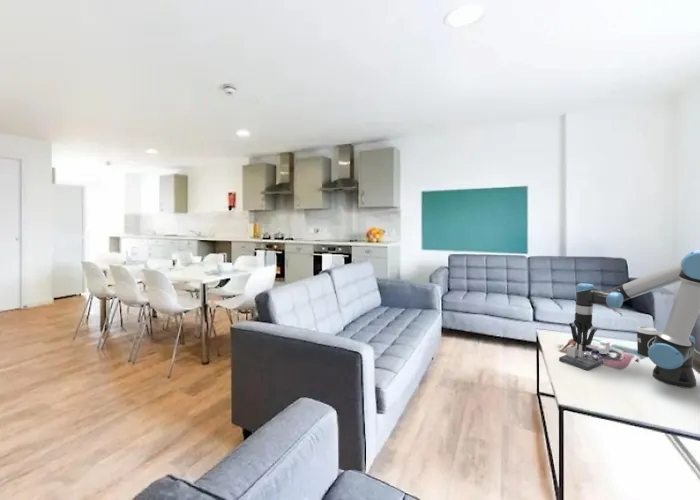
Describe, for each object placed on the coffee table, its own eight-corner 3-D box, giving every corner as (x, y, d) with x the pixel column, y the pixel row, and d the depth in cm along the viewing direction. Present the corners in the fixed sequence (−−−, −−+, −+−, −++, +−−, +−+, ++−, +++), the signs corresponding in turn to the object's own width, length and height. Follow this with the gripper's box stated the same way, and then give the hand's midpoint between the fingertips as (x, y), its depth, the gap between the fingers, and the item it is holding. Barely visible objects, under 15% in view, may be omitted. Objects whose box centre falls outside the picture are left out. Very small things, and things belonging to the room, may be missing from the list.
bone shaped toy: (610, 354, 197) (611, 340, 197) (604, 356, 192) (605, 342, 192) (580, 346, 209) (582, 333, 209) (574, 348, 204) (575, 334, 204)
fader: (578, 355, 188) (578, 346, 188) (574, 357, 186) (575, 347, 186) (570, 353, 192) (571, 344, 191) (566, 355, 190) (567, 345, 189)
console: (603, 363, 183) (603, 357, 183) (587, 370, 175) (588, 364, 175) (574, 354, 195) (575, 348, 195) (559, 360, 187) (559, 354, 187)
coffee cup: (647, 351, 200) (650, 325, 198) (660, 357, 190) (663, 331, 189) (630, 350, 201) (632, 325, 199) (642, 357, 191) (644, 330, 190)
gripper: (601, 314, 179) (598, 359, 181) (574, 309, 190) (571, 350, 193) (593, 317, 175) (590, 362, 178) (566, 311, 186) (564, 353, 189)
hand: (580, 356), depth 185 cm, fingers closed
